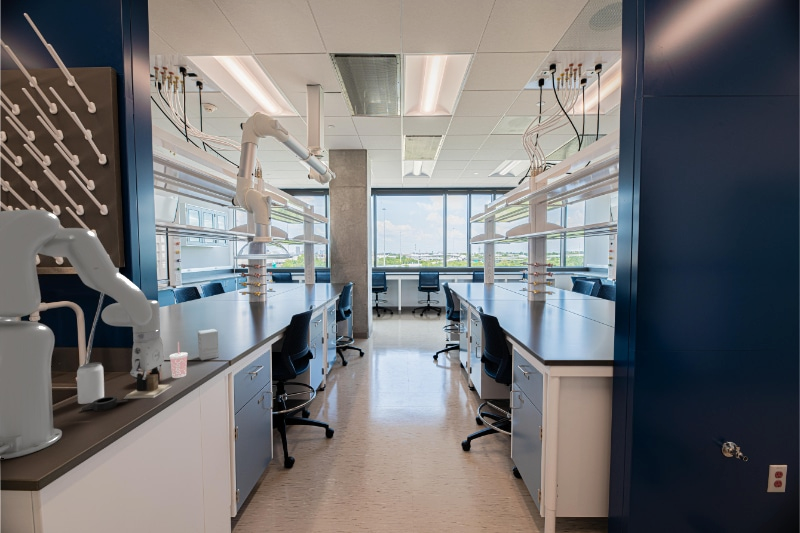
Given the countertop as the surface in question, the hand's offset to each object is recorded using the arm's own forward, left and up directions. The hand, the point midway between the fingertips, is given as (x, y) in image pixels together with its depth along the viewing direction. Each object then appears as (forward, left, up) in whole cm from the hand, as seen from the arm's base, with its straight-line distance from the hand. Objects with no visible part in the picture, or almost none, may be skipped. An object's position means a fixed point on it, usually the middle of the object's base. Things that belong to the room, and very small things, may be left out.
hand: (148, 386), depth 118 cm
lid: (0, 0, -2) cm, 2 cm away
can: (-5, +15, -3) cm, 16 cm away
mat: (0, 0, -2) cm, 2 cm away
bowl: (+11, +7, -2) cm, 13 cm away
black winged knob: (-11, +6, -3) cm, 13 cm away
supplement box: (+42, 0, -3) cm, 42 cm away
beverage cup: (+16, -1, -3) cm, 16 cm away
